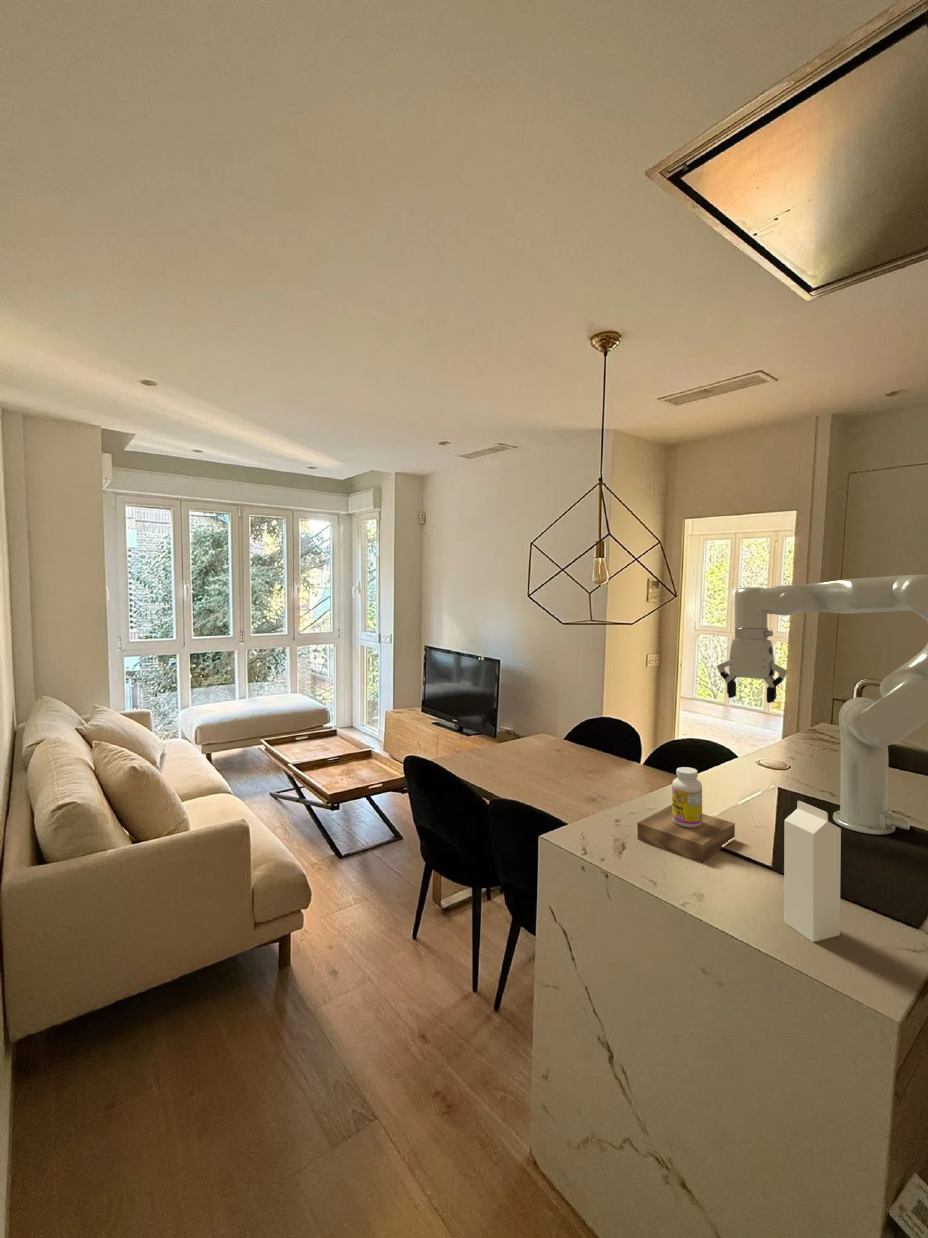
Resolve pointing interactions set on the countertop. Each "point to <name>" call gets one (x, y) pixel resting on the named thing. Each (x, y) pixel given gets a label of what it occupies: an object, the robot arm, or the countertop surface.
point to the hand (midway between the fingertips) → (750, 699)
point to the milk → (812, 873)
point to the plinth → (686, 834)
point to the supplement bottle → (687, 798)
